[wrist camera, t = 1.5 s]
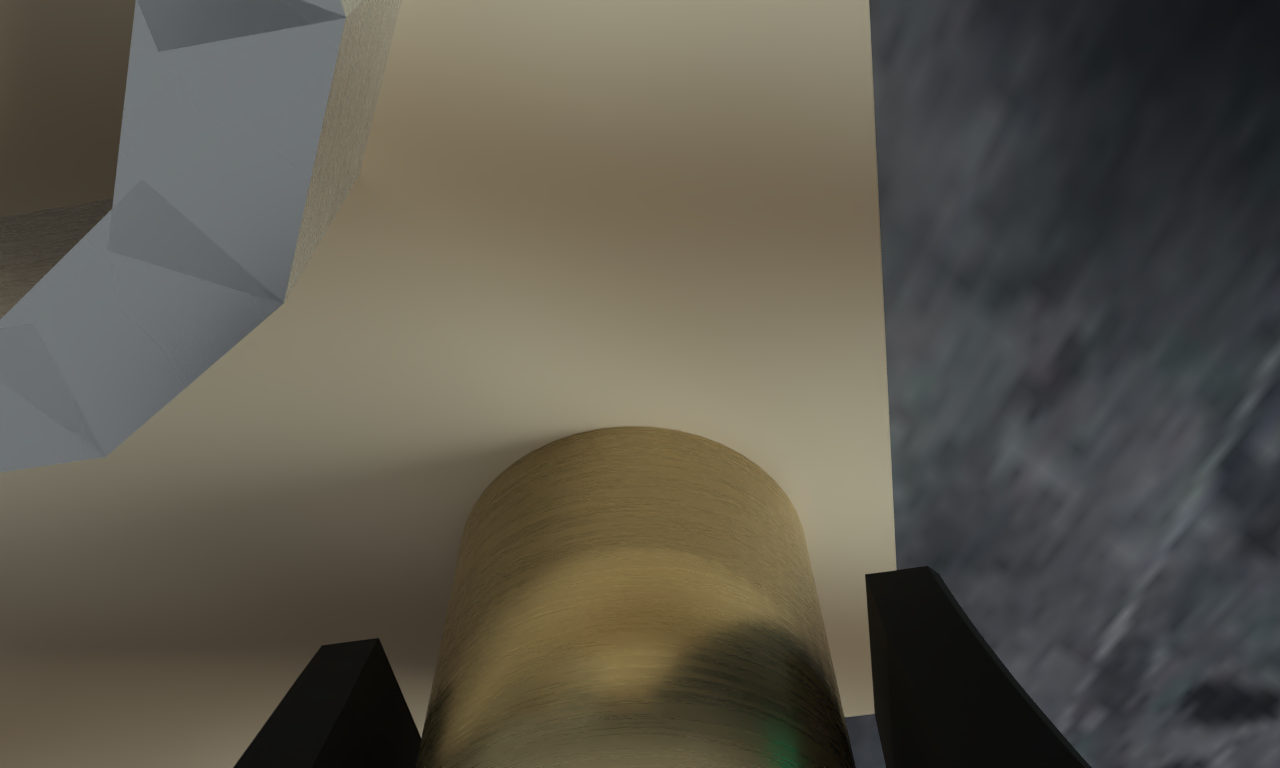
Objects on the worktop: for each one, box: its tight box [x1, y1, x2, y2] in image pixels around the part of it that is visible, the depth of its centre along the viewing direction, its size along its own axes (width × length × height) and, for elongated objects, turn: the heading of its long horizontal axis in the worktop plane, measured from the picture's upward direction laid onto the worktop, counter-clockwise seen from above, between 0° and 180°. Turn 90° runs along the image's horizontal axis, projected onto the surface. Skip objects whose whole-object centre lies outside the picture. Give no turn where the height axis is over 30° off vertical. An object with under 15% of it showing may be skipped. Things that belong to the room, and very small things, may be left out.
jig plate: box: [0, 0, 896, 768], centre depth 10 cm, size 16×12×1 cm
